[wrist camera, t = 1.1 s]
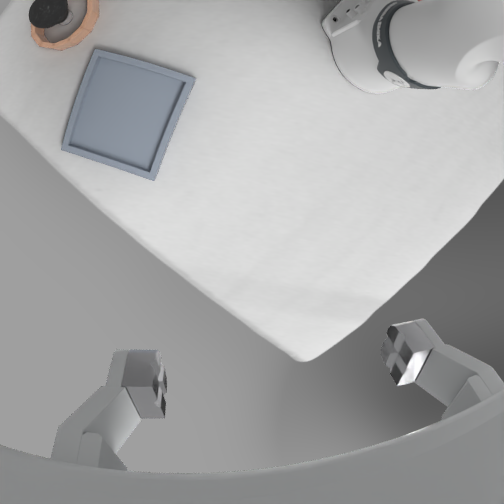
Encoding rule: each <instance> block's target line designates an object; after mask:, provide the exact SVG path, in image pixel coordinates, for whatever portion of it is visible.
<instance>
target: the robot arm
mask: <svg viewBox="0 0 504 504" xmlns="http://www.w3.org/2000/svg"><path fill="white" fill-rule="evenodd" d="M333 18H335V19H336V22H334V21H333ZM322 26H323V29H324V31H325V32H326V34H327V36H328V37H329V39H330V41H331V45H332V52H333V56H334V59H335V62H336V64H337V66H338V68H339V70H340V71H341V73H342V74H343V75H344V77H345V78H346V79H347V80H348V81H349V82H350V83H352V84H353V85H354V86H356V87H357V88H359V89H361V90H363V91H366V92H369V93H374V94H383V93H388V92H391V91H393V90H396V89H399V88H404V87H407V88H415V89H438V88H441V87H446V88H456V89H464V90H476V89H479V88H481V87H483V86H484V85H486V84H487V83H488V82H489V81H490V80H491V79H492V78H493V77H494V75H495V73H496V71H497V68H498V64H499V62H500V63H502V64H504V0H341V1H340V2H339V3H338V4H337V6H336V7H335V8H334V9H333V10H332V11H331V12H330V13H329V14H328V15H327V16H326V18H325V19H324V20H323V22H322ZM387 335H388V338H387V339H386V340H385V341H384V342H383V344H382V347H381V356H382V359H383V361H384V363H385V365H386V366H388V367H389V368H391V373H390V374H391V376H392V378H393V380H394V382H395V383H396V385H397V386H400V385H404V384H408V383H411V382H415V383H416V384H418V385H419V386H420V387H422V388H423V389H424V390H426V391H427V392H428V393H430V394H431V395H433V396H434V397H435V398H436V399H438V400H439V401H441V402H442V403H443V404H445V405H446V406H447V407H448V408H447V409H446V411H445V412H444V413H443V415H442V421H439V422H437V423H435V424H432V425H430V426H428V427H425V428H422V429H420V430H417V431H415V432H412V433H409V434H407V435H404V436H401V437H398V438H395V439H392V440H389V441H386V442H383V443H380V444H377V445H373V446H370V447H366V448H363V449H359V450H355V451H352V452H348V453H344V454H340V455H336V456H332V457H327V458H323V459H318V460H313V461H308V462H302V463H297V464H291V465H285V466H278V467H271V468H263V469H255V470H244V471H232V472H217V473H151V472H136V471H127V467H126V466H125V465H124V464H123V462H122V461H121V460H120V459H119V458H118V457H117V455H116V453H117V452H118V450H119V449H120V448H121V446H122V445H123V444H124V442H125V441H126V440H127V438H128V437H129V436H130V434H131V433H132V432H133V430H134V429H135V427H136V426H137V425H138V423H139V422H140V421H141V418H165V408H166V401H165V399H164V396H163V395H164V394H165V393H166V392H167V377H166V372H165V368H164V366H163V365H162V364H161V359H162V357H161V354H160V351H159V350H118V349H117V350H116V351H115V352H114V354H113V358H112V362H111V366H110V369H109V373H108V377H107V382H106V386H101V387H100V388H99V389H98V390H97V391H96V392H95V393H94V394H93V395H92V396H91V397H90V398H88V399H87V400H86V401H85V402H84V403H83V404H82V405H81V406H80V407H79V408H78V409H77V410H76V411H75V412H74V413H73V414H71V416H69V417H68V418H67V419H66V420H65V421H64V422H63V423H62V424H61V425H60V426H59V427H58V430H57V434H56V438H55V442H54V446H53V451H52V455H51V459H49V458H45V457H41V456H37V455H33V454H29V453H26V452H22V451H18V450H15V449H12V448H9V447H6V446H3V445H0V504H504V383H503V381H502V380H501V379H500V377H499V376H498V374H497V373H496V372H495V370H494V369H493V368H492V367H491V366H489V365H488V364H485V363H483V362H482V361H480V360H478V359H475V358H474V357H472V356H470V355H468V354H466V353H464V352H462V351H460V350H458V349H456V348H454V347H452V346H450V345H448V344H447V345H445V344H444V343H443V341H442V340H441V339H440V337H439V336H438V335H437V333H436V332H435V331H434V330H433V328H432V327H431V326H430V324H429V323H428V322H427V321H426V320H425V319H418V320H414V321H409V322H404V323H399V324H395V325H391V326H390V327H389V328H388V330H387Z"/></svg>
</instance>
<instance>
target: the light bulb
mask: <svg viewBox="0 0 504 504" xmlns="http://www.w3.org/2000/svg"><path fill="white" fill-rule="evenodd" d="M67 8H68V4H67V0H35V1H34V2H33V4H32V5H31V7H30V10H29V20H30V22H31V23H32V25H34V26H35V27H37V28H42V29H43V28H49V27H52V26H54V25H56V24H61V25H66V24H68V23H69V22H70V21H71V20H72V18H73V14H72V12H71V11H69V10H68V9H67Z"/></svg>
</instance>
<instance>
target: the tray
mask: <svg viewBox="0 0 504 504" xmlns="http://www.w3.org/2000/svg"><path fill="white" fill-rule="evenodd" d="M195 81H196V78H193V77H190V76H188V75H185V74H182V73H179V72H176V71H173V70H170V69H167V68H164V67H161V66H157V65H154V64H151V63H148V62H144V61H141V60H137V59H134V58H130V57H127V56H123V55H119V54H115V53H111V52H107V51H103V50H99V49H95V50H94V52H93V55H92V57H91V60H90V62H89V65H88V67H87V70H86V72H85V75H84V77H83V80H82V83H81V85H80V88H79V91H78V94H77V97H76V100H75V103H74V106H73V109H72V112H71V115H70V119H69V122H68V126H67V129H66V133H65V136H64V140H63V144H62V148H61V150H63V151H66V152H69V153H72V154H76V155H79V156H82V157H85V158H88V159H91V160H94V161H97V162H100V163H103V164H106V165H109V166H112V167H115V168H118V169H120V170H123V171H126V172H129V173H132V174H135V175H138V176H141V177H144V178H146V179H149V180H152V181H154V180H155V179H156V176H157V174H158V171H159V168H160V165H161V163H162V160H163V157H164V155H165V152H166V149H167V147H168V144H169V142H170V139H171V137H172V134H173V132H174V129H175V127H176V124H177V122H178V120H179V117H180V115H181V113H182V110H183V108H184V106H185V103H186V101H187V99H188V96H189V94H190V92H191V90H192V88H193V85H194V83H195Z"/></svg>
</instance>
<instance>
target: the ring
mask: <svg viewBox="0 0 504 504" xmlns="http://www.w3.org/2000/svg"><path fill="white" fill-rule="evenodd" d="M98 17H99V1H98V0H87V14H86V16H85V18H84V20H83V22H82V24H81V26H80V27H79V28H78V29H77V30H76V31H75V32H74V33H73V34H72V35H71V36H70V37H69V38H67V39H64V40H62V41H59V42H57V43H50V42H49V41H48V39H47V38H46V37H45V36H44V28H43V29H42V28H37V27H35V26H34V25H32V23H31V36H32V38H33V39H34V40H35V41H36V43H37V44H38V45H39V46H40V47H45V48H50V49H56V50H61V51H62V50H64V49H67V48H70V47H72V46H75V45H78V44H79V43H80V42H81V41H82V40H83V39H84V38H85V37H86V36H87V35H88V34H89V33H90V32H91V31H92V29H93V27H94V25H95V23H96V21H97V19H98Z"/></svg>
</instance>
